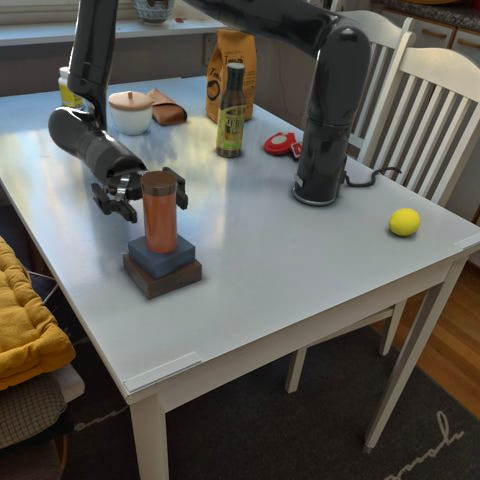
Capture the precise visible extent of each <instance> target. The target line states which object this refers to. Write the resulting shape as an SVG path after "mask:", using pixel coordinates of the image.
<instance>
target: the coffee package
mask: <svg viewBox="0 0 480 480" xmlns="http://www.w3.org/2000/svg"><path fill="white" fill-rule="evenodd" d="M216 36H217V42H216V43H215V47H214V51H213V53H212V55H211V56H210V57H211V58H210V59H209V60H210V61H209V63H208V66H207V71H206V72H207V73H206V88H205V91H206V93H205V94H206V95H205V112H206V116H207V117H208V118H210V119H211V120H212V121H213V122H214V123H216V124H218V112H219V105H220V95H221V93H222V92H223V91H224V89H225V88H226V80H227V71H226V70H227V64H229V63H239V64H242V65H244V66H245V73H244V77H243V89H242V90H243V92H244V95H245V97H246V110H245V118H244V122H246V121H249V120H251V119H253V113H254V103H255V95H256V85H257V71H258V54H257V49H256V48H257V47H256V43H255V36H251V35H248V34H245V33H242V32H240V31H237V30H230V29H220V28H217V29H216Z"/></svg>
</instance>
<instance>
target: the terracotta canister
mask: <svg viewBox="0 0 480 480" xmlns="http://www.w3.org/2000/svg"><path fill="white" fill-rule="evenodd" d="M149 171H150V172H147V173H145V174H143V175H142V176H141V178H140V182H141V190H142V199H141V200H142V211H143V212H142V214H143V226H144V235H145V241H146V247H147V248H148V249H149V250H150V251H152V252H155V253H168V252H171V251H173V250H174V249H175V248H176V247H177V233H178V214H177V213H178V212H177V210H178V209H177V207H178V206H177V203H176V190H177V178H176V177H175V175H173V174H172V173H169V172H166V171H162V170H149Z"/></svg>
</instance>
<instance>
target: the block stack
mask: <svg viewBox="0 0 480 480" xmlns="http://www.w3.org/2000/svg"><path fill="white" fill-rule="evenodd" d="M127 251H128V252H125V253H122V261H123V262H122V263H123V269H124V271H125V272H126V274H127V275H128V276H129V277H130V278H131V279H132V281H133V282H134V283H135V284H136V286H137V287H138V288H139V289H140V290H141V292H142V293H143V294H144V295H145V296H146V298H147V299H148V300H151V299H153V298H156V297H159V296H161V295H164V294H167V293H170V292H172V291H175V290H178V289H181V288H183V287H186V286H188V285H191V284H193V283H196V282H199V281H201V280H202V279H203V277H202V276H203V264H202V263H201V262H200V261H199V260H198V259H197V258H196V246H195V245H194V244H193V243H191V242H190V241H189V240H187V239H186V238H185V237H183V236H182V235H180V234H179V233H178V232H177V247H176V248H175V249H174V250H173V251H171V252H168V253H155V252H152V251H150V250H149V249H148V248H147V247H146V241H145V234H144V235H142V236H140V237H137V238H135V239H132V240H130V241H127Z"/></svg>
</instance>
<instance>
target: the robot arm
mask: <svg viewBox="0 0 480 480" xmlns="http://www.w3.org/2000/svg"><path fill="white" fill-rule="evenodd" d="M181 1H182V2H184V3H185V4H187V5H189V6H190V7H191V8H194V9H195V10H197V11H198V12H201V14H204V15H205V16H208V17H209V18H210V19H212V20H215V21H217V22H219V23H221V24H222V25H225V26H227V27H229V28H231V29H233V30H234V31H240V32H242V33H245V34H248V35H251V36H254V38H255V37H256V38H260V39H263V40H264V39H265V40H269V41H274V42H279V43H283V44H286V45H288V46H291V47H293V48H295V49H297V50H298V51H301V52H303V53H304V54H306V55H308V56H309V57H311V58H312V59H314V60H315V61H316V63H315V69H314V75H313V80H312V87H311V92H310V97H309V99H308V104H307V111H306V117H305V121H304V122H305V123H304V127H303V134H302V139H301V141H302V145H301V151H300V156H299V159H298V161H297V162H298V163H297V168H296V172H294V176H293V179H294V186H293V190H292V196H293V197H294V199H296V200H297V201H299V202H300V203H302V204H304V205H305V204H306V205H309V206H313V207H325V206H328V205H331V204H333V203H334V202H335V201H336V198H338V197H339V193H340V189H341V186H342V185H344V184H345V182H346V184H347V186H349V187H351V188H364V187H365V188H366V187H369V186H372V185H373V184H375V182H376V175H377V174H379V173H382V172H385V171H395V172H397V173H398V174H401V175H402V174H403V172H402V170H401V169H400V168H398V167H396V166H386V167H381V168H379V169H376V170H374V171H373V172H372V173H371V179H372V180H371V181H368V182H365V183H353V182H351V181H350V176H349V175H347V173H348V171H347V170H346V165H347V162H348V155H347V154H346V153H347V150H348V145H349V141H350V138H351V133H352V129H353V125H354V120H355V116H356V113H357V111H358V109H359V106H360V104H361V100H362V98H363V97H362V96H363V93H364V89H365V86H366V82H367V78H368V73H369V70H370V65H371V61H372V55H373V54H372V51H373V50H372V43H371V40H370V37H369V33H368V32H367V30H366V29H365V26H364V25H363V24H362V23H361V22H360V21H358V20H356V19H354V18H352V17H349V16H347V15H343V14H340V13H338V12H334V11H331V10H329V9H327V8H324V7H322V6H319V5H316V4H314V3H311V2H309V1H307V0H181ZM119 2H120V0H79V5H78V12H77V21H76V27H75V32H74V39H73V45H72V50H71V54H70V55H71V56H70V60H69V66H68V67H69V72H68V77H67V88H68V90H69V91H70V92H71V93H73V94H74V95H76V96H78V97H80V98H82V101H85V104H86V107H87V112H85V111H82V110H74V109H71V108H66V107H63V106H62V107H57V108H56V109H54V110H53V111H52V113H51V114H50V115H49V117H48V120H47V128H48V134H49V136H50V138H51V140H52V141H53V144H55V145H56V146H57V147H58V148H59V149H61V150H62V151H64V152H66V153H67V154H69V155H70V156H72V157H73V158H76V159H79V160H80V161H82V163H83V164H84V165H85V166H86V167H87V168H88V169H89V171H90V173H91V174H92V175H93V177H94V178H95V179H96V180H97V181H98V182H99V183H100V184H101V185H100V184H99V183H98V182H92V183H90V190H91V196H92V200H93V202H94V203H95V204H96V206H97V207H98V208H99V210H100V211H101V212H102V214H103V215H105V216H110V215H112V213H116V214H118V215H120V216H121V218H123V219H124V221H126V222H130V223H131V224H132V225H135V224H137V223H138V222H139V221H138V220H139V219H138V211H137V209H136V208H134V207H133V206H132V204H131V202H132V201H134V202H136V201H139V200H143V199H142V190H141V182H140V178H141V176H142V175H143V174H145V173H147V172H150V171H151V170H150V169H148V168H147V166H146V164H145V163H144V161H143V160H142V159H141V158H140V157H139V156H137V154H136V153H134V152H133V151H132V150H131V149H130V148H129V147H128V146H126V145H125V143H123V142H121V141H119V140H118V139H116V138H115V137H114V136H113V135H112V134H111V133H109V132H108V131H109V130H108V115H107V113H108V112H107V108H108V107H107V94H108V89H109V83H110V80H111V74H112V70H113V65H114V58H115V50H116V31H117V17H118V8H119ZM161 171H166V172H169V173H172V174H173V175H175V177H176V178H177V190H176V203H177V207H178V208H179V209H180V210H181V211H185V210H187V209H188V206H189V196H188V194H187V193H186V179H185V178H184V177H182V176H181V175H180V174H179V173H177V172H176V171H174V170H173V169H172V168H171V167H169V166H162V168H161ZM108 194H109V195H110V196H111V197H112V196H113V197H114V198H113V199H112V198H111V199H110V196H109V195H108Z"/></svg>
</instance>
